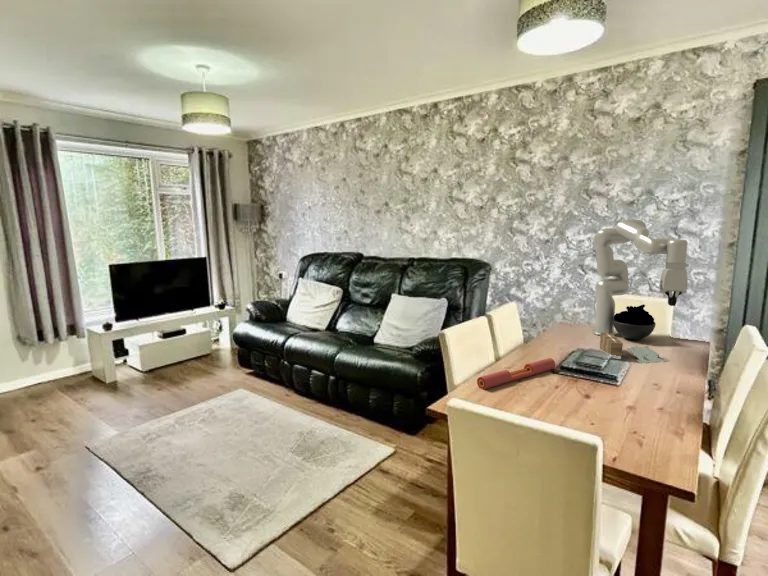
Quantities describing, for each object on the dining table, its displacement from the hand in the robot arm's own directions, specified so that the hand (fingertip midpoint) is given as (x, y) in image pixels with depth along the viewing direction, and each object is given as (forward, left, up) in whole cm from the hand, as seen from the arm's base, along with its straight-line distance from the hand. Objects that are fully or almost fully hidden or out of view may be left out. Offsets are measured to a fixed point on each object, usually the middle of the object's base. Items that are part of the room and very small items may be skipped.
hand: (671, 305), depth 196 cm
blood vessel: (+41, -71, -25) cm, 86 cm away
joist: (0, -25, -25) cm, 35 cm away
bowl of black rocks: (-29, -6, -25) cm, 39 cm away
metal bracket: (+5, -11, -25) cm, 28 cm away
